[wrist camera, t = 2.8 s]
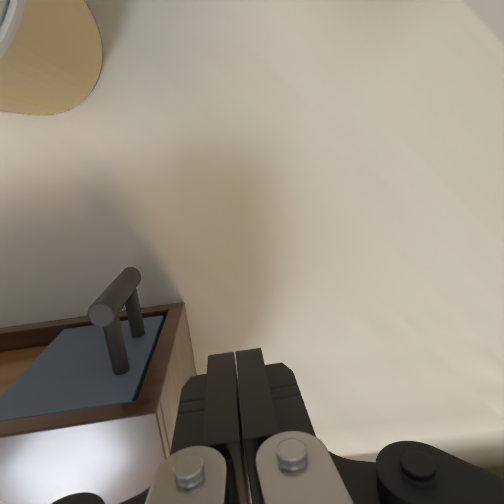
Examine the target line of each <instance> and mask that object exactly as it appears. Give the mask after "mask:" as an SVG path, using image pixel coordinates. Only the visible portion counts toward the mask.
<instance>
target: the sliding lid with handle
mask: <svg viewBox="0 0 504 504" xmlns="http://www.w3.org/2000/svg"><path fill="white" fill-rule="evenodd" d="M140 281H141V273H140V272H139V270H137V269H136V268H134V267H128V268H125V269H124V270H123V271H122V272H121V273H120V274H119V275H118V276H117V278H116V279H115V280H114V281H113V282H112V283H111V284H110V285H109V286H108V288H107V289H106V290H105V291H104V292H103V293H102V294H101V295H100V296H99V298H98V299H97V300H96V301H95V302H94V303H93V304H92V305H91V306H90V308H89V310H88V318H89V320H90V321H91V323H92V324H94V325H91V326H84V327H77V328H70V329H64V330H63V331H62V332H61V333H60V334H59V335H58V336H57V337H56V338H55V339H54V340H53V341H52V342H51V343H50V344H49V345H48V347H47V348H46V349H45V350H44V351H43V352H42V353H41V354H40V355H39V356H38V357H37V358H36V359H35V360H34V361H33V363H32V364H31V365H30V366H29V367H28V368H27V369H26V370H25V371H24V372H23V373H22V374H21V375H20V376H19V377H18V379H17V380H16V381H15V382H14V383H13V384H12V385H11V386H10V387H9V388H8V389H7V390H6V391H5V392H4V393H3V394H2V396H1V397H0V422H3V421H10V420H16V419H23V418H29V417H36V416H42V415H49V414H55V413H62V412H68V411H75V410H81V409H88V408H94V407H101V406H107V405H114V404H120V403H127V402H133V401H137V400H138V397H139V394H140V391H141V388H142V385H143V382H144V380H145V377H146V374H147V371H148V368H149V365H150V362H151V359H152V356H153V354H154V351H155V348H156V345H157V342H158V339H159V336H160V333H161V331H162V328H163V325H164V322H165V321H164V316H163V315H161V316H154V317H147V318H142V314H141V309H140V304H139V299H138V294H137V289H136V287H137V285H138V284H139V282H140ZM124 305H125V307H126V312H127V317H128V320H126V321H120V320H119V315H118V314H119V312H120V311H121V309H122V308H123V306H124Z"/></svg>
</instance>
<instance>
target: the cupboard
mask: <svg viewBox="0 0 504 504" xmlns="http://www.w3.org/2000/svg"><path fill="white" fill-rule="evenodd" d="M141 314H142V318H147V317H154V316H161V315H163V316H164V321H165V322H164V325H163V328H162V331H161V333H160V336H159V339H158V342H157V345H156V348H155V351H154V354H153V356H152V359H151V362H150V365H149V368H148V371H147V374H146V377H145V380H144V382H143V385H142V388H141V391H140V394H139V397H138V400H137V401H133V402H127V403H120V404H114V405H107V406H101V407H94V408H88V409H81V410H75V411H68V412H62V413H55V414H49V415H42V416H36V417H29V418H23V419H16V420H10V421H3V422H0V504H51V503H53V502H54V501H56V500H58V499H60V498H62V497H65V496H68V495H71V494H75V493H81V492H89V493H94V494H96V495H98V496H100V497H101V498H102V499H103V501H104V502H105V504H119V503H121V502H123V501H126V500H128V499H130V498H132V497H134V496H136V495H138V494H140V493H142V492H143V491H145V490H146V489H148V488H149V487H150V485H151V482H152V478H153V476H154V473H155V471H156V469H157V468H158V466H159V465H160V464H161V463H162V462H163V461H164V460H165V459H166V458H167V457H169V456H170V451H171V446H172V440H173V434H174V428H175V423H176V417H177V411H178V405H179V400H180V394H181V388H182V387H183V386H184V385H185V383H186V382H187V381H188V379H189V378H190V377H191V376H196V369H195V363H194V357H193V351H192V346H191V340H190V334H189V328H188V322H187V316H186V311H185V305H184V303H178V304H171V305H163V306H156V307H149V308H142V309H141ZM118 315H119V320H120V321H126V320H128V317H127V312H126V311H121V312H119V314H118ZM91 325H94V324H92V323H91V321H90V320H89V318H88V316H85V317H78V318H71V319H64V320H57V321H50V322H43V323H35V324H28V325H21V326H14V327H7V328H0V397H1V396H2V394H3V393H4V392H5V391H6V390H7V389H8V388H9V387H10V386H11V385H12V384H13V383H14V382H15V381H16V380H17V379H18V377H19V376H20V375H21V374H22V373H23V372H24V371H25V370H26V369H27V368H28V367H29V366H30V365H31V364H32V363H33V361H34V360H35V359H36V358H37V357H38V356H39V355H40V354H41V353H42V352H43V351H44V350H45V349H46V348H47V347H48V345H49V344H50V343H51V342H52V341H53V340H54V339H55V338H56V337H57V336H58V335H59V334H60V333H61V332H62V331H63V330H64V329H70V328H77V327H84V326H91Z"/></svg>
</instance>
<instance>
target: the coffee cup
mask: <svg viewBox="0 0 504 504" xmlns="http://www.w3.org/2000/svg"><path fill="white" fill-rule="evenodd" d="M101 64H102V44H101V38H100V34H99V30H98V27H97V25H96V22H95V20H94V18H93V16H92V14H91V12H90V10H89V8H88V7H87V5H86V3H85V1H84V0H0V112H9V113H18V114H27V115H54V114H58V113H62V112H65V111H67V110H70V109H72V108H73V107H75V106H77V105H78V104H80V103H81V102H82V101H83V100H84V99H85V98H86V97H87V96H88V95H89V94H90V92H91V91H92V89H93V87H94V86H95V84H96V82H97V79H98V77H99V74H100V70H101Z"/></svg>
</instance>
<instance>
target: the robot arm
mask: <svg viewBox="0 0 504 504" xmlns="http://www.w3.org/2000/svg"><path fill="white" fill-rule="evenodd" d="M236 361H237V371H236V364H235V357H234V352H229V353H222V354H215V355H209V356H208V364H207V374H203V375H196V376H191V377H190V378H189V379H188V381H187V382H186V383H185V385H184V386H183V387H182V388H181V394H180V400H179V405H178V411H177V417H176V423H175V428H174V434H173V440H172V446H171V451H170V456H169V457H167V458H166V459H165V460H164V461H163V462H162V463H161V464H160V465H159V466H158V468H157V469H156V471H155V473H154V476H153V478H152V482H151V485H150V487H149V488H148V489H146V490H145V491H143V492H142V493H140V494H138V495H136V496H134V497H132V498H130V499H128V500H126V501H123V502H121V503H119V504H251V503H250V492H249V484H250V491H251V498H252V504H504V479H503V478H500V477H498V476H496V475H494V474H492V473H490V472H487V471H485V470H483V469H481V468H479V467H477V466H474V465H472V464H470V463H468V462H466V461H463V460H461V459H459V458H457V457H455V456H453V455H450V454H448V453H446V452H444V451H442V450H440V449H437V448H435V447H433V446H430V445H428V444H424V443H421V442H415V441H400V442H395V443H392V444H389V445H388V446H386V447H384V448H383V449H382V450H381V451H380V452H379V454H378V456H377V459H376V463H375V462H366V461H356V460H350V459H346V458H342V457H339V456H337V455H335V454H333V453H331V452H329V451H328V450H327V448H326V446H325V445H324V444H323V443H322V441H321V440H319V439H318V438H317V437H316V435H315V433H314V430H313V427H312V424H311V421H310V418H309V416H308V413H307V410H306V407H305V404H304V401H303V399H302V396H301V393H300V390H299V387H298V386H297V382H296V379H295V376H294V373H293V371H292V370H290V369H289V368H288V367H287V366H286V365H284V364H283V363H276V364H269V365H265V364H264V360H263V355H262V351H261V348H256V349H249V350H242V351H236ZM237 373H238V378H237ZM248 477H249V480H248ZM51 504H105V502H104V501H103V499H102V498H101V497H100V496H98V495H96V494H94V493H89V492H81V493H75V494H71V495H68V496H65V497H62V498H60V499H58V500H56V501H54V502H53V503H51Z"/></svg>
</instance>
